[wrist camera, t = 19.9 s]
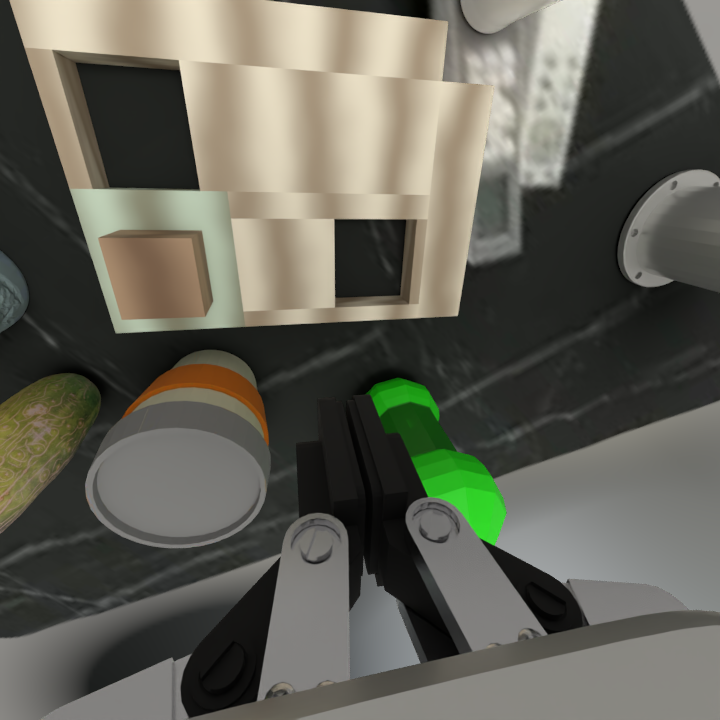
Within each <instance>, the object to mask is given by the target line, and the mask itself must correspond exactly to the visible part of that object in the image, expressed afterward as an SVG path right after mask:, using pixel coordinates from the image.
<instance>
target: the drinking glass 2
mask: <svg viewBox="0 0 720 720" xmlns="http://www.w3.org/2000/svg"><path fill="white" fill-rule="evenodd" d="M460 1H461V7H462V11H463V14H464V16H465V18H466V20H467V22H468V23H469V24H470V25H471V26H472V27H473V28H474V29H475V30H477V31H479V32H481V33H486V34H490V33H495V32H498V31H500V30H502V29H504V28H506V27H507V26H509V25H510V24H512V23H514V22H516V21H518V20H520V19H522V18H524V17H527V16H529V15H531V14H533V13H535V12H538V11H540V10H542V9H544V8H546V7H549V6H551V5H553V4H555V3H558V2H560V1H562V0H460Z"/></svg>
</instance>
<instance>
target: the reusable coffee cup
mask: <svg viewBox="0 0 720 720" xmlns="http://www.w3.org/2000/svg"><path fill="white" fill-rule="evenodd" d="M268 443H269V440H268V429H267V423H266V416H265V410H264V405H263V402H262V399H261V396H260V394H259V393H258V391H257V385H256V380H255V377H254V374H253V372H252V371H251V369H250V367H249V366H248V365H247V364H246V363H245V362H244V361H242V360H241V359H240V358H238V357H236V356H235V355H233V354H230V353H227V352H224V351H219V350H202V351H197V352H194V353H191V354H189V355H187V356H185V357H184V358H182V359H181V360H180V361H179V362H178V363H177V364H176V365H175V366H174V367H173V368H172V369H171V370H169V371H167V372H166V373H164V374H162V375H161V376H159V377H158V378H157V379H156V380H155V381H154V382H153V383H152V384H151V385H150V386H149V387H148V388H147V389H146V390H145V391H144V392H143V393H142V394H141V395H140V396H139V398H138V399H137V400H136V401H135V402H134V403H133V404H132V405H131V406H130V407H129V408H128V409H127V411H126V412H125V414H124V416H123V417H122V419H121V420H119V421H118V422H117V423H116V424H115V425H114V426H113V427H112V428H111V429H110V430H109V431H108V433H107V435H106V436H105V438H104V440H103V441H102V443H101V445H100V447H99V450H98V452H97V454H96V456H95V458H94V461H93V463H92V465H91V467H90V469H89V472H88V475H87V479H86V484H85V488H86V498H87V500H88V503H89V506H90V508H91V510H92V511H93V513H94V514H95V515H96V517H97V518H98V519H99V520H100V521H101V522H102V523H103V524H104V525H105V526H107V527H108V528H109V529H110V530H112V531H114V532H115V533H117V534H119V535H121V536H122V537H125V538H127V539H130V540H132V541H135V542H137V543H141V544H146V545H150V546H155V547H164V548H189V547H196V546H203V545H207V544H210V543H214V542H217V541H220V540H222V539H225V538H227V537H230V536H231V535H233V534H235V533H237V532H238V531H240V530H242V529H243V528H244V527H245V526H246V525H248V524H249V523H250V522H251V521H252V520H253V519H254V518H255V516H256V515H257V514H258V513H259V511H260V509H261V507H262V505H263V503H264V500H265V495H266V490H267V484H268V479H269V473H270V468H271V459H270V452H269V449H268Z"/></svg>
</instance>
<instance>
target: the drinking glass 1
mask: <svg viewBox="0 0 720 720" xmlns="http://www.w3.org/2000/svg"><path fill="white" fill-rule="evenodd" d="M28 303H29V291H28V287H27V283H26V280H25V278H24V276H23V274H22V273H21V271H20V270H19V268H18V267H17V266H16V265H15V264H14V262H13V261H12V260H11V259H10V258H8V257H7V256H6V255H5V254H4V253H3V252H2V251H0V333H1V332H2V331H4V330H5V329H7V328H9V327H10V326H11V325H13V324H14V323H16V322H17V321H18V320H19V319H20V318H21V317H22V315H23V314H24V313H25V310H26V309H27V306H28Z"/></svg>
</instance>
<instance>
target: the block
mask: <svg viewBox="0 0 720 720" xmlns="http://www.w3.org/2000/svg"><path fill="white" fill-rule="evenodd" d="M98 240H99V244H100V247H101V251H102V254H103V257H104V261H105V264H106V268H107V271H108V275H109V278H110V281H111V285H112V288H113V292H114V295H115V299H116V302H117V305H118V309H119V312H120V316H121V319H122V320H134V319H163V318H192V317H206V315H207V313H208V311H209V309H210V307H211V305H212V303H213V296H212V290H211V284H210V277H209V271H208V265H207V259H206V252H205V246H204V240H203V234H202V230H118V231H115V232H113V233H110V234H107V235H104V236H101V237H99V238H98Z"/></svg>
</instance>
